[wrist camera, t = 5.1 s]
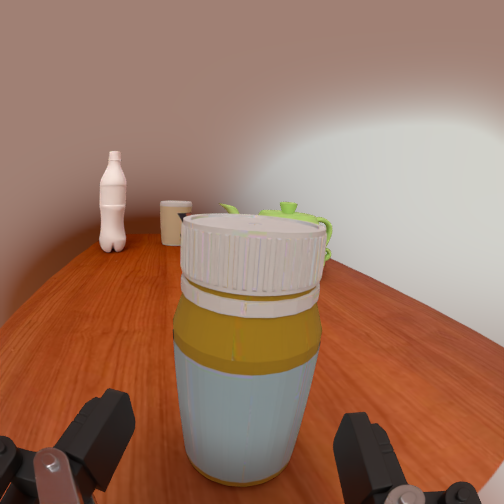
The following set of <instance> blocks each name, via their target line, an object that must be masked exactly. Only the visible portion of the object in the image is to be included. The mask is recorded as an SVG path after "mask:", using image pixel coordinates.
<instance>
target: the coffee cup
mask: <svg viewBox="0 0 504 504" xmlns="http://www.w3.org/2000/svg"><path fill="white" fill-rule="evenodd" d="M191 207H192V204H191V202H188V201H161V204H160V217H161V238H162V244H164V245H169V246H181V224H182V223H183V218H184V217H186V216H190V215H191Z"/></svg>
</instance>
